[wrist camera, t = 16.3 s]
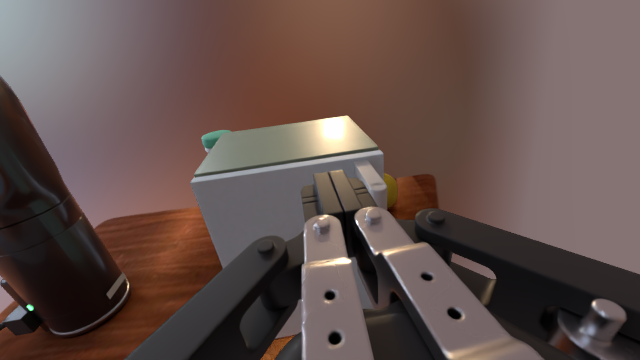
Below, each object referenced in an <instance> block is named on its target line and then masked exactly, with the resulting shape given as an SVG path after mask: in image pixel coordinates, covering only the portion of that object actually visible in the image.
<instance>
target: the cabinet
mask: <svg viewBox="0 0 640 360" xmlns="http://www.w3.org/2000/svg"><path fill="white" fill-rule="evenodd" d="M376 150H378V146H377V145H376V144H375V143H374V142H373V141H372V140H371V139H370V138H369V137H368V136H367V135H366V134H365V133H364V132H363V131H362V130H361V129H360V128H359V127H358V126H357V125H356V124H355V123H354V122H353V121H352V120H351V119H350V118H349V117H348V116H342V117H335V118H328V119H321V120H315V121H307V122H300V123H293V124H286V125H279V126H272V127H265V128H258V129H251V130H244V131H238V132H230V133H223V134H222V135H221V136H220V138H219V139H218V141H217V142H216V144H215V145H214V146H213V148H212V149H211V151H210V152H209V154H208V155H207V157H206V158H205V159H204V161H203V162H202V164H201V165H200V167H199V168H198V170H197V171H196V173H195V174H194V176H195V178H196V177H202V176H209V175H216V174H222V173H229V172H236V171H243V170H249V169H256V168H263V167H269V166H276V165H283V164H289V163H296V162H303V161H309V160H316V159H323V158H330V157H336V156H343V155H350V154H356V153H363V152H370V151H376Z"/></svg>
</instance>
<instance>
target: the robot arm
mask: <svg viewBox="0 0 640 360" xmlns="http://www.w3.org/2000/svg"><path fill="white" fill-rule="evenodd" d="M313 181H314V184H311V185H305V186H303V188H302V190H301V191H300V193H301V199H302V206H303V213H304V220H305V225H304V230H303V231H302V232H301V233H300V234H299V235H298V236H296V237H295V238H293V239H291V240H288V241H286V242H285V240H284V239H283V238H281V237H279V236H265V237H261V238H259V239H257V240H255V241H254V242H252V243H251V244H250V245H249V246H248V247H247V248H246V249H245V250H244V251H242V252H241V253H240V254H239V255H238V256H237V257H236V258H235V259H234V260H233V261H231V262H230V263H229V264H228V265H227V266H226V267H225V268H224V269H223V270H222V271H221V272H219V273H218V274H217V275H216V276H215V277H214V278H213V279H212V280H211V281H210V282H208V283H207V284H206V285H205V286H204V287H203V288H202V289H201V290H200V291H199V292H197V293H196V294H195V295H194V296H193V297H192V298H191V299H190V300H189V301H188V302H186V303H185V304H184V305H183V306H182V307H181V308H180V309H179V310H178V311H177V312H175V313H174V314H173V315H172V316H171V317H170V318H169V319H168V320H167V321H166V322H165V323H163V324H162V325H161V326H160V327H159V328H158V329H157V330H156V331H155V332H154V333H152V334H151V335H150V336H149V337H148V338H147V339H146V340H145V341H144V342H143V343H141V344H140V345H139V346H138V347H137V348H136V349H135V350H134V351H133V352H132V353H130V354H129V355H128V356H127V357H126V358H125V359H124V360H260V359H261V358H262V356H263V355H264V354H265V352H266V351H267V349H268V348H269V346H270V345H271V343H272V342H273V341H274V339H275V338H276V336H277V335H278V333H279V332H280V330H281V329H282V328H283V326H284V325H285V323H286V322H287V320H288V319H289V317H290V316H291V315H292V313H293V312H294V310H295V309H296V307H297V304H298V300H300V299H302V331H301V332H300V333H298V334H297V335H296V336H295V337H293V338H292V339H291V340H290V341H289V342H288V343H287V344H286V345H285V346H284V347H283V349H282V350H281V351H280V352H279V354H278V355H277V357H276V358H275V360H640V274H637V273H633V272H630V271H628V270H624V269H621V268H618V267H615V266H612V265H609V264H606V263H603V262H600V261H597V260H593V259H591V258H587V257H585V256H581V255H578V254H575V253H572V252H569V251H566V250H563V249H560V248H557V247H554V246H551V245H548V244H545V243H542V242H539V241H536V240H532V239H529V238H526V237H523V236H520V235H517V234H514V233H511V232H508V231H505V230H502V229H499V228H495V227H492V226H490V225H487V224H483V223H480V222H477V221H474V220H471V219H468V218H465V217H462V216H459V215H456V214H453V213H450V212H447V211H443V210H440V209H424V210H421V211H419V212H418V213H417V214H416V216H415V220H401V219H395V218H394V217H393V216H392V215H391V214H390V213H389V212H388V211H387V210H385V209H383V208H379V207H378V205H377V204H376V202H375V201H374V199H373V197H372V196H371V194H370V193H369V191H368V189H367V188H366V186H365V185H364V183H363V181H361V180H359V179H357V178H356V177H354V178H348V177H347V175H346V173H345V171H344V170H336V171H330V172H324V173H317V174H313ZM452 253H455V254H457V255H460V256H462V257H464V258H467V259H469V260H472V261H474V262H477V263H479V264H481V265H483V266H486V267H488V268H489V269H491V270H492V271H493V272H494V274H495V275H496V279H490V278H487V277H485V276H483V275H480V274H478V273H476V272H474V271H471V270H469V269H467V268H465V267H462V266H460V265H458V264H456V263H453V262H451V258H452ZM352 257H355V258H356V261H357V272H358V275H359V277H360V279H361V281H362V284H363V286H364V288H365V290H366V292H367V295H368V297H369V299H370V301H371V303H372V306H373V308H374V309H362V305H361V301H360V297H359V292H358V288H357V284H356V279H355V275H354V271H353V267H352V262H351V259H350V258H352ZM0 276H1V277H2V278H3V279H2V281H1V282H0V283H1V286H2V287H3V288H4V289H5V290H6V291H7V293H9V295H10V296H12V298H13V299H14V300H15V301H16V302H17V303H18V304H19V306H18V307H17V308H16V309H15V310H14V311H13V312H12V313H11V314H10V315H9V316H8V317H7V318H6V319H5V320H4V321H3V322H2V323H1V324H0V331H1V330H2V329H3V328H5V327H7V328H8V329H9V330H10V331H11V332H13V333H14V334H15V335H16V336H17V335H22V334H28V333H33V332H35V330H36V329H37V328H38V327H39V326H40V327H41V328H42V329H43V330H44V331H45V332H49V331H52V332H53V334H54V335H56V336H57V337H61V338H69V337H74V336H78V335H81V334H83V333H86V332H88V331H90V330H92V329H94V328H96V327H98V326H99V325H101V324H103V323H104V322H105V321H107V320H108V319H110V318H111V317H112V316H113V315H114V314H116V313H117V312H118V311H119V310H120V309H121V308H122V306H123V305H124V304H125V303H126V301H127V300H128V298H129V296H130V293H131V285H130V283H129V282H128V280H127V279H126V276H125V274H124V273H122V272H121V271H120V269H119V268H118V266H117V264H116V263H115V261H114V260H113V258H112V256H111V255H110V253H109V252H108V250H107V249H106V247H105V246H104V244H103V242H102V241H101V239H100V238H99V236H98V235H97V233H96V231H95V230H94V228H93V227H92V225H91V224H90V222H89V221H88V219H87V218H86V216H85V215H84V213H83V212H82V210H81V208H80V207H79V205H78V204H77V202H76V200H75V199H74V197H73V196H72V194H71V193H70V192H69V190H68V188H67V187H66V185H65V183H64V181H63V179H62V177H61V175H60V173H59V170H58V168H57V166H56V164H55V162H54V161H53V159H52V157H51V156H50V154H49V152H48V151H47V149H46V147H45V146H44V144H43V142H42V140H41V138H40V137H39V135H38V133H37V131H36V129H35V127H34V126H33V124H32V122H31V120H30V118H29V116H28V115H27V112H26V110H25V109H24V107H23V105H22V104H21V102H20V100H19V99H18V97H17V96H16V94H15V93H14V91H13V90H12V89H11V87H10V86H9V85H8V83H7V82H6V81H5V80H4V79H3V78H2V77H1V76H0Z"/></svg>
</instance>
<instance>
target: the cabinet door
mask: <svg viewBox="0 0 640 360" xmlns="http://www.w3.org/2000/svg"><path fill="white" fill-rule="evenodd" d="M336 170H344V171H345V173H346V175H347V177H348V178H354V177H356V178H357V179H359V180H361V181H363V183H364V185H365V186H366V188H367V189H368V191H369V193H370V194H371V196H372V197H373V199H374V201H375V202H376V204H377V205H378V207H379V208H383V209H385V210H387V186H386V184H385V182H384V154H383V153H382V152H381V151H380V150H376V151H370V152H363V153H356V154H350V155H343V156H336V157H330V158H323V159H316V160H309V161H303V162H296V163H289V164H283V165H276V166H269V167H263V168H256V169H249V170H243V171H236V172H229V173H222V174H216V175H209V176H202V177H196V178H193V180H192V181H191V183H190V184H191V187H192V189H193V192H194V194H195V197H196V200H197V202H198V205H199V208H200V210H201V213H202V215H203V218H204V221H205V223H206V226H207V228H208V231H209V234H210V236H211V239H212V241H213V244H214V247H215V249H216V252H217V254H218V257H219V259H220V262H221V265H222V267H223V269H224V268H225V267H226V266H227V265H228V264H229V263H230V262H231V261H233V260H234V259H235V258H236V257H237V256H238V255H239V254H240V253H241V252H242V251H244V250H245V249H246V248H247V247H248V246H249V245H250V244H251V243H252V242H254V241H255V240H257V239H259V238H261V237H265V236H279V237H281V238H283V239H284V240H285V242H286V241H288V240H291V239H293V238H295V237H296V236H298V235H299V234H300V233H301V232H302V231H303V230H304V225H305V220H304V213H303V206H302V199H301V193H300V191H301V190H302V188H303V186H305V185H311V184H314V181H313V174H317V173H324V172H330V171H336ZM350 259H351V262H352V267H353V271H354V275H355V279H356V284H357V288H358V292H359V297H360V301H361V305H362V309H374V308H373V306H372V303H371V301H370V299H369V297H368V295H367V292H366V290H365V288H364V286H363V284H362V281H361V279H360V277H359V275H358V272H357V261H356V258H355V257H352V258H350ZM301 331H302V299H300V300H298V304H297V307H296V309H295V310H294V312H293V313H292V315H291V316H290V317H289V319H288V320H287V322H286V323H285V325H284V326H283V328H282V329H281V330H280V332H279V333H278V335H277V336H276V338H281V337H287V336H292V335H297V334H298V333H300V332H301ZM276 338H275V339H276Z"/></svg>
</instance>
